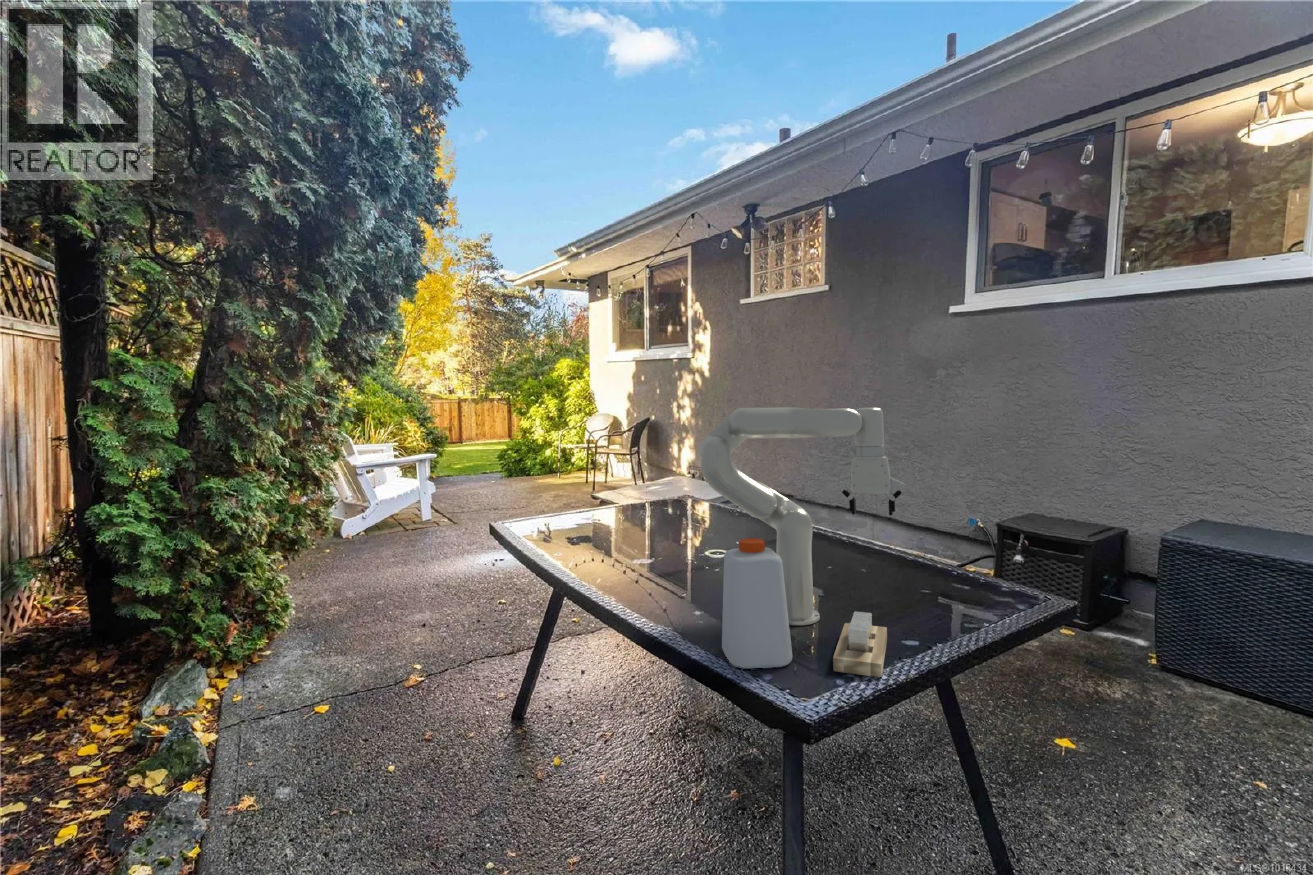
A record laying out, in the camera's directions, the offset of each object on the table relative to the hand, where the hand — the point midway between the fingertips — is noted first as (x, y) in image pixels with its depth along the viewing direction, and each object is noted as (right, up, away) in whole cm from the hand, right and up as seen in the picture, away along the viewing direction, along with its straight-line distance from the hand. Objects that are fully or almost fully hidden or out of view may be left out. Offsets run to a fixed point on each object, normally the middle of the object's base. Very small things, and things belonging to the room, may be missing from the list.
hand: (872, 514), depth 160 cm
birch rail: (-11, -30, -24) cm, 40 cm away
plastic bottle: (-36, -31, -22) cm, 53 cm away
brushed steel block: (-11, -30, -24) cm, 40 cm away
